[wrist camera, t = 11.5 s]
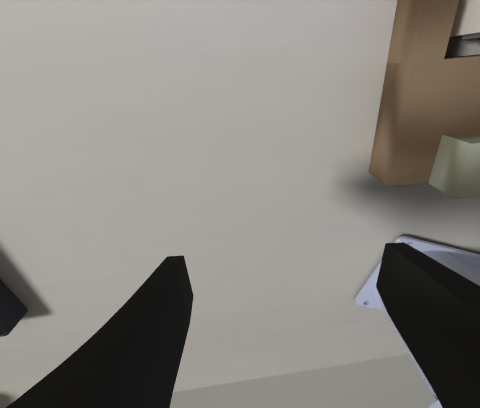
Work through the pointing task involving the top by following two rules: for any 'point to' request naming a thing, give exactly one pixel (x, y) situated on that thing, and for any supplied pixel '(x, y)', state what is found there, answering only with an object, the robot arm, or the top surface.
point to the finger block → (467, 20)
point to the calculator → (9, 310)
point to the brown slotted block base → (428, 105)
